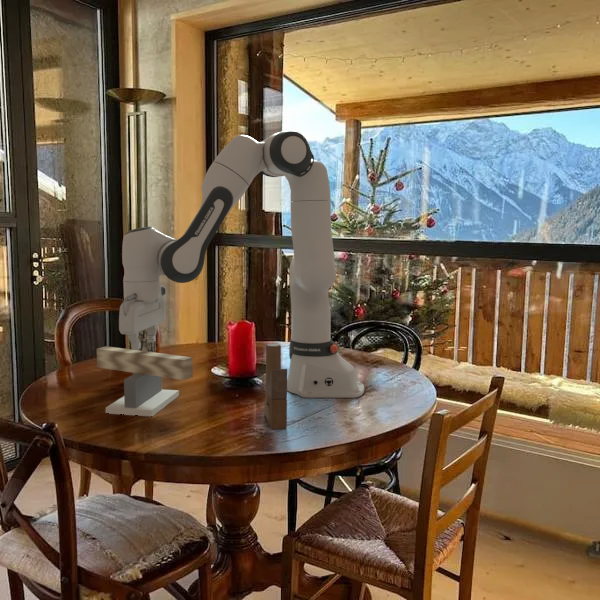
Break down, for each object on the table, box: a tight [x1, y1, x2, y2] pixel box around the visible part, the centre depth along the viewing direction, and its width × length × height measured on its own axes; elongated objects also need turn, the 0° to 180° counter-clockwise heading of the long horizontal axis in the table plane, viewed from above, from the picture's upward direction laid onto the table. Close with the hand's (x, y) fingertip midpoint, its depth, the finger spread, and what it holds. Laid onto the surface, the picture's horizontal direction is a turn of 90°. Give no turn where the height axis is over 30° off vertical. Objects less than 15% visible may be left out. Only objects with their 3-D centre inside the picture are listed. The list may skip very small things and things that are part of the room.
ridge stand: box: [105, 373, 180, 417], centre depth 153 cm, size 12×18×8 cm, turn 171°
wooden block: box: [263, 343, 288, 431], centre depth 140 cm, size 4×11×18 cm, turn 13°
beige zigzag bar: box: [96, 346, 194, 381], centre depth 153 cm, size 28×4×5 cm, turn 65°
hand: (144, 345), depth 152 cm, fingers open, 8 cm apart
